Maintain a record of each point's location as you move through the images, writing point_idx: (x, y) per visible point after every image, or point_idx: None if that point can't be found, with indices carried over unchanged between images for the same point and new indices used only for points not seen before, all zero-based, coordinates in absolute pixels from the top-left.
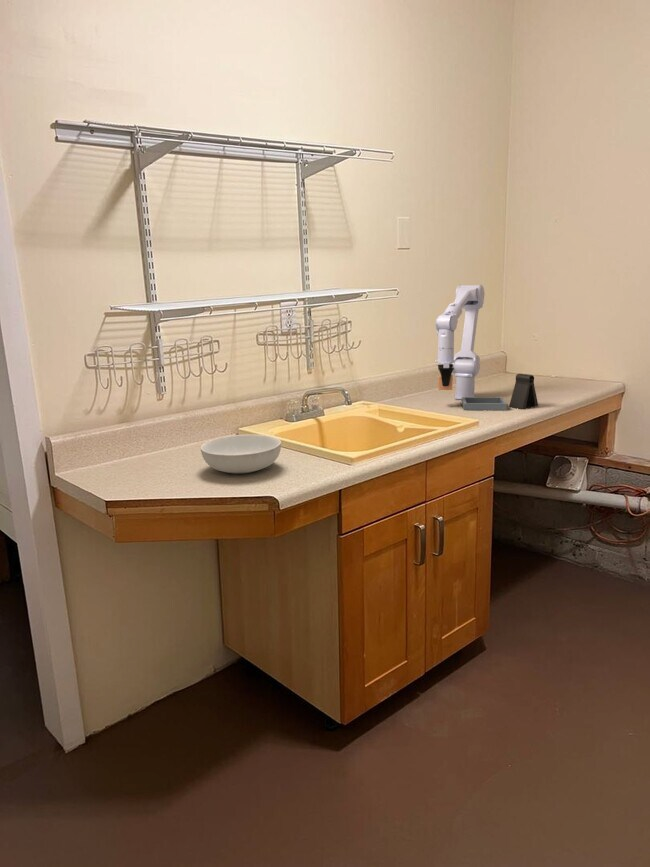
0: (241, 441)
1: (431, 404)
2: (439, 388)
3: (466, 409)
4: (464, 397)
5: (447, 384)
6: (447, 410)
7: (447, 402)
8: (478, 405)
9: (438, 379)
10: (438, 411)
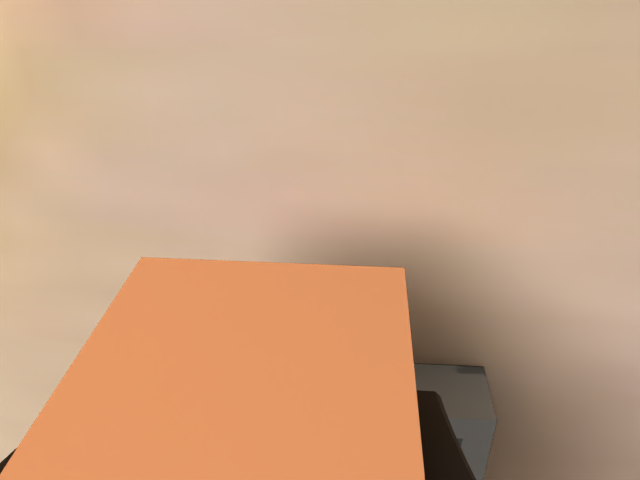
0: None
1: (503, 50)
2: (133, 289)
3: None
4: (481, 438)
5: None
6: (122, 220)
7: (600, 250)
8: None
9: (232, 409)
10: (42, 125)
